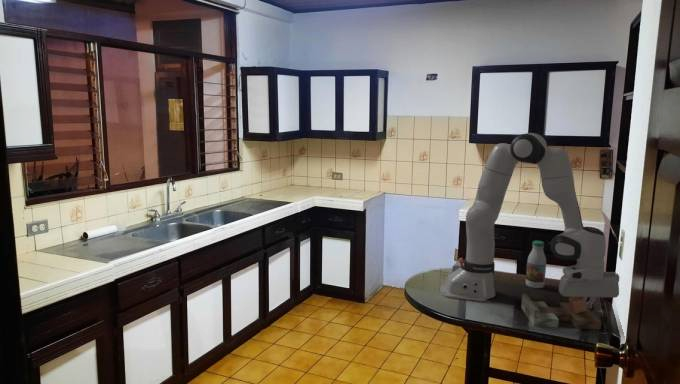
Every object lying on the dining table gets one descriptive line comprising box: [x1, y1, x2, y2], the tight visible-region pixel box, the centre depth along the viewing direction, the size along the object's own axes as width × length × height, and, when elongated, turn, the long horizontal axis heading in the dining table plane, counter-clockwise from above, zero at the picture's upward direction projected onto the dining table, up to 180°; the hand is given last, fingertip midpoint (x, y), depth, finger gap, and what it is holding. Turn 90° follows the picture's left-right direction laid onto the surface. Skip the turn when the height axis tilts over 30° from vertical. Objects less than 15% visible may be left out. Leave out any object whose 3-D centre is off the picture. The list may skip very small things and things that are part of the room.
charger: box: [451, 260, 461, 273], centre depth 231 cm, size 5×9×15 cm
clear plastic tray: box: [520, 293, 602, 330], centre depth 179 cm, size 23×16×6 cm
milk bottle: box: [525, 240, 547, 289], centre depth 211 cm, size 8×8×20 cm
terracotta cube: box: [568, 297, 587, 313], centre depth 178 cm, size 4×4×4 cm
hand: (587, 307), depth 178 cm, fingers closed
